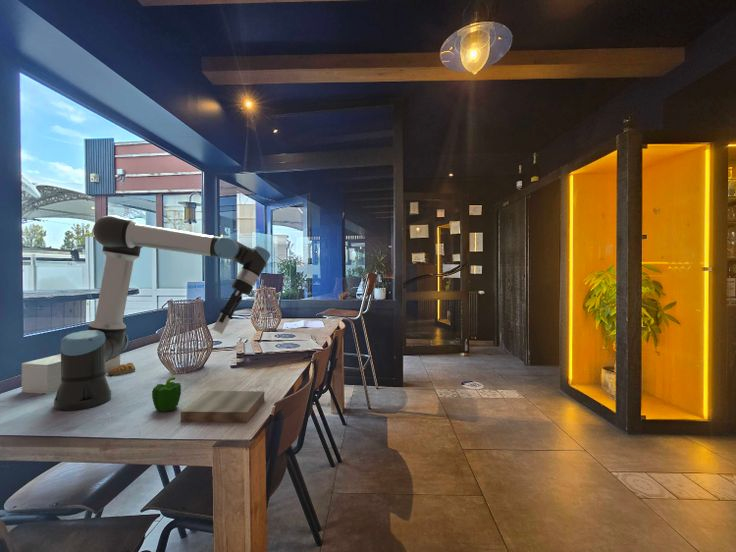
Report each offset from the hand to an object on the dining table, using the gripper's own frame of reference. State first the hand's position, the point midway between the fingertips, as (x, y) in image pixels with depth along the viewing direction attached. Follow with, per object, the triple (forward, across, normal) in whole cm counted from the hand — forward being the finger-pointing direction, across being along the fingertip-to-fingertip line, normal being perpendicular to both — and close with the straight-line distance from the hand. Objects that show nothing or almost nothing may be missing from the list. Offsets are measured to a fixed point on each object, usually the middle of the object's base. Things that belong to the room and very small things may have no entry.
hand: (217, 331), depth 135 cm
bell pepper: (+29, -11, +1) cm, 31 cm away
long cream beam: (+39, +32, +42) cm, 66 cm away
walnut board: (+21, -17, -16) cm, 31 cm away
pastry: (+31, +38, +29) cm, 57 cm away
